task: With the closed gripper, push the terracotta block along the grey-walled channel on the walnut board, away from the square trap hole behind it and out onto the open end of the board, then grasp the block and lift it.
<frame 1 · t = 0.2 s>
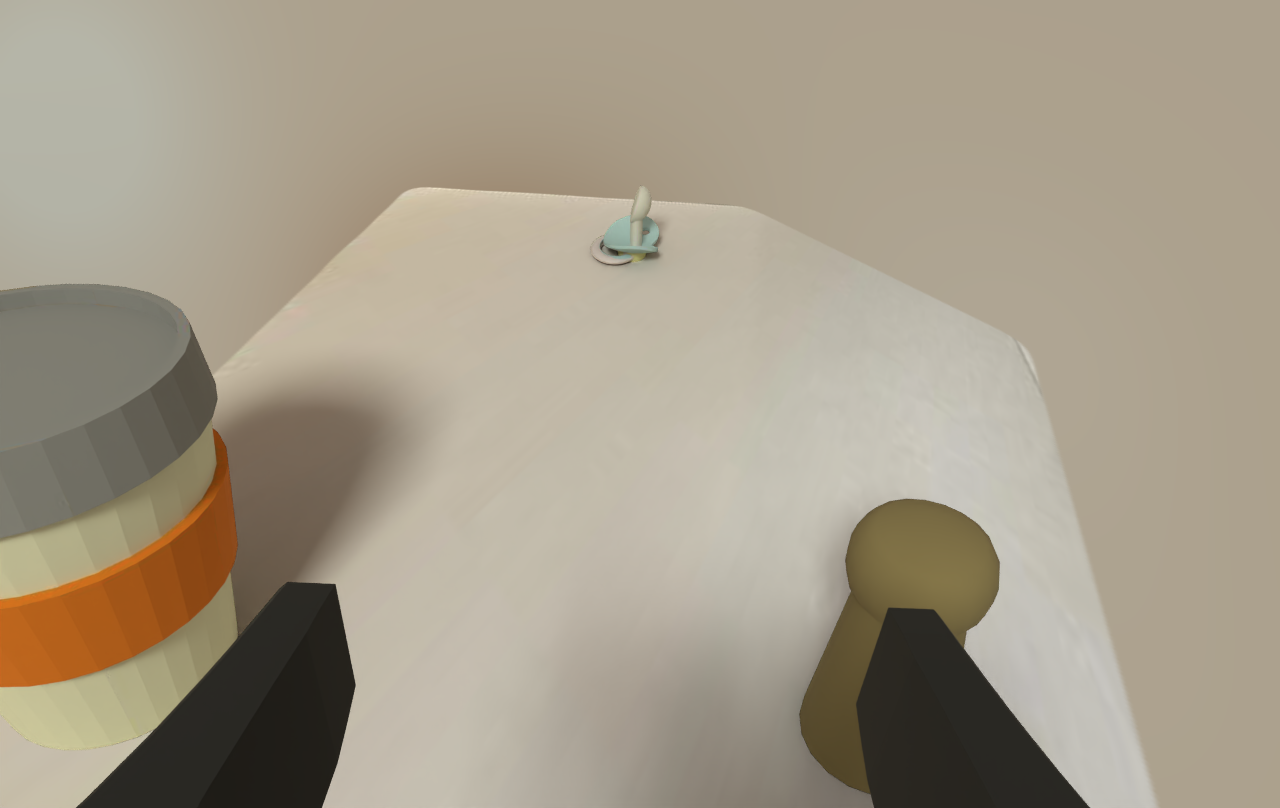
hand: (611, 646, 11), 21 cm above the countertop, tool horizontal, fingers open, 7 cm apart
pacifier: (624, 256, 76), on the countertop
reusable coffee cup: (128, 661, 37), on the countertop
cork: (871, 731, 35), on the countertop
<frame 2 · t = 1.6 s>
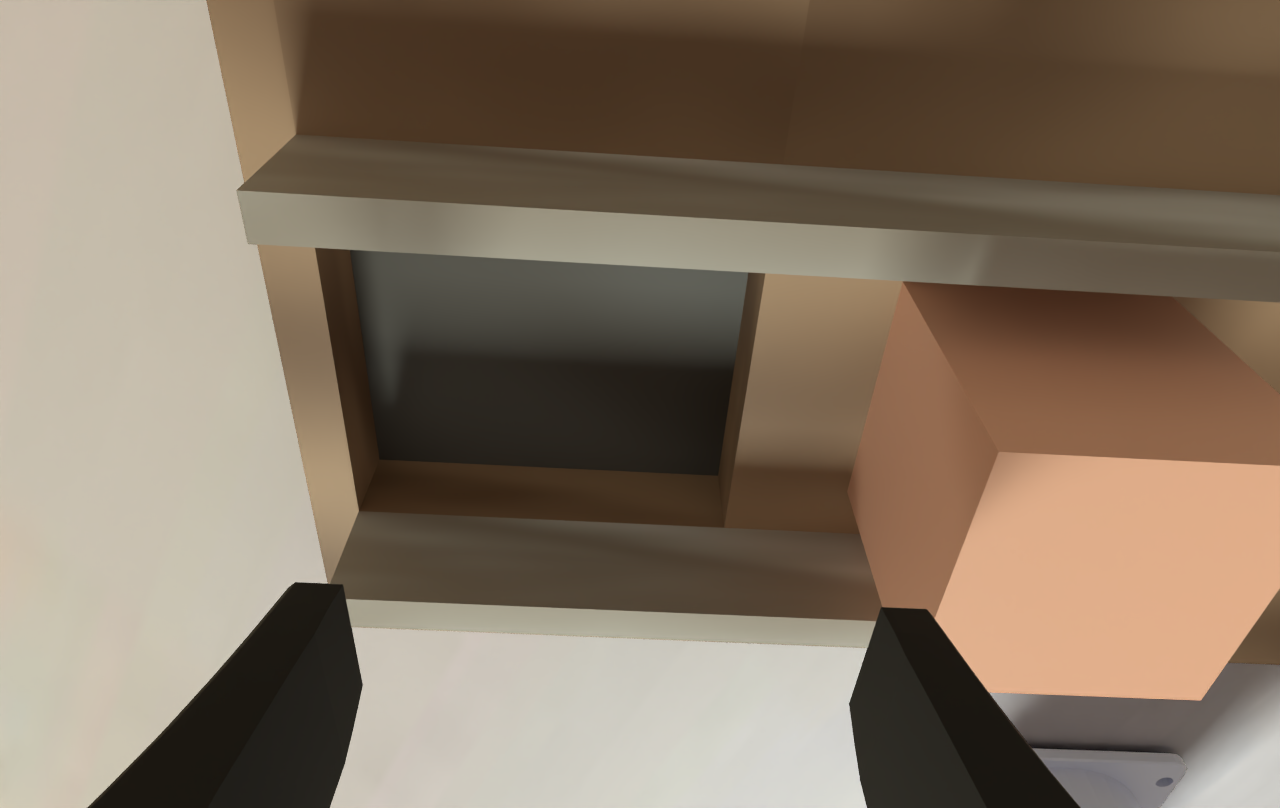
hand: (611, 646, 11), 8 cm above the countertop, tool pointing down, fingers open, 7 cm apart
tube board: (1010, 352, 19), on the countertop
block: (996, 401, 17), point 2 cm above the countertop, touching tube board
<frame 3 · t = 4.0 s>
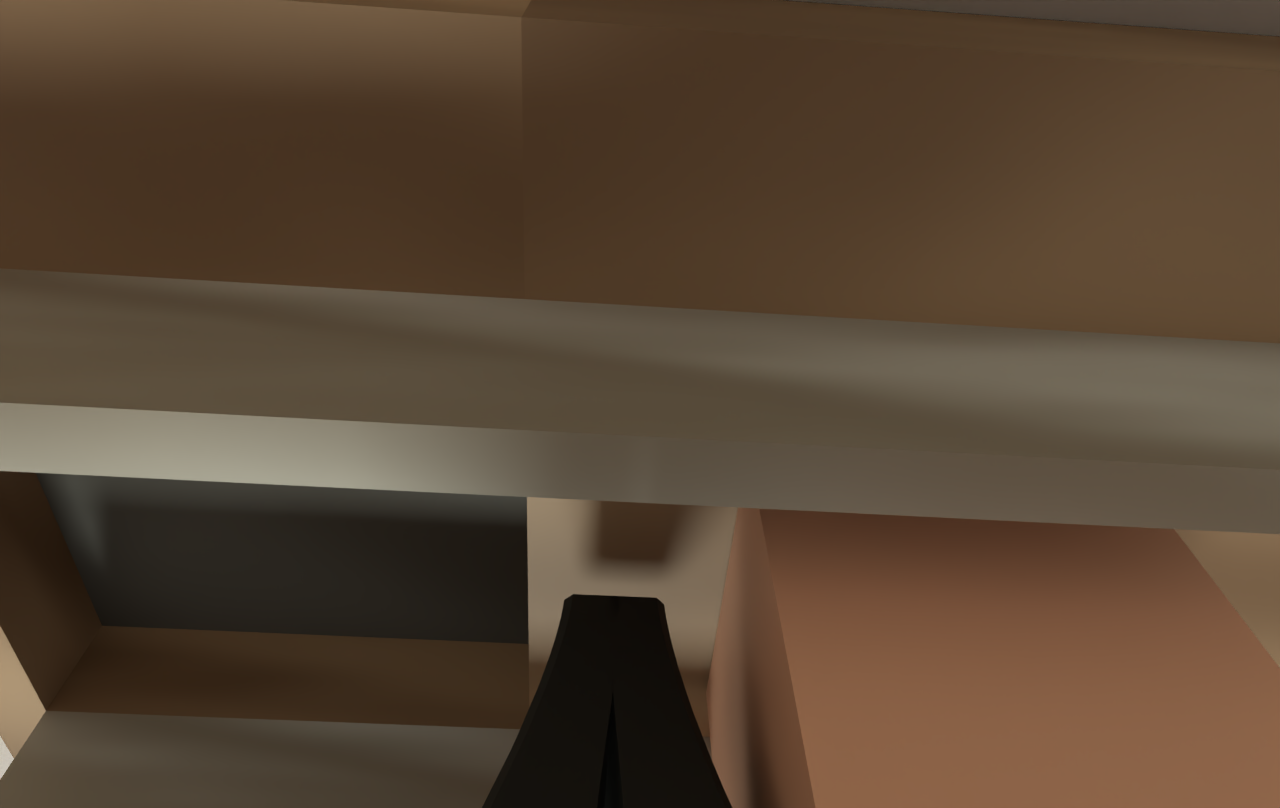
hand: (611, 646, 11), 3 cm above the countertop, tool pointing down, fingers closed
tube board: (901, 504, 14), on the countertop
block: (894, 591, 12), point 2 cm above the countertop, touching gripper, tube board
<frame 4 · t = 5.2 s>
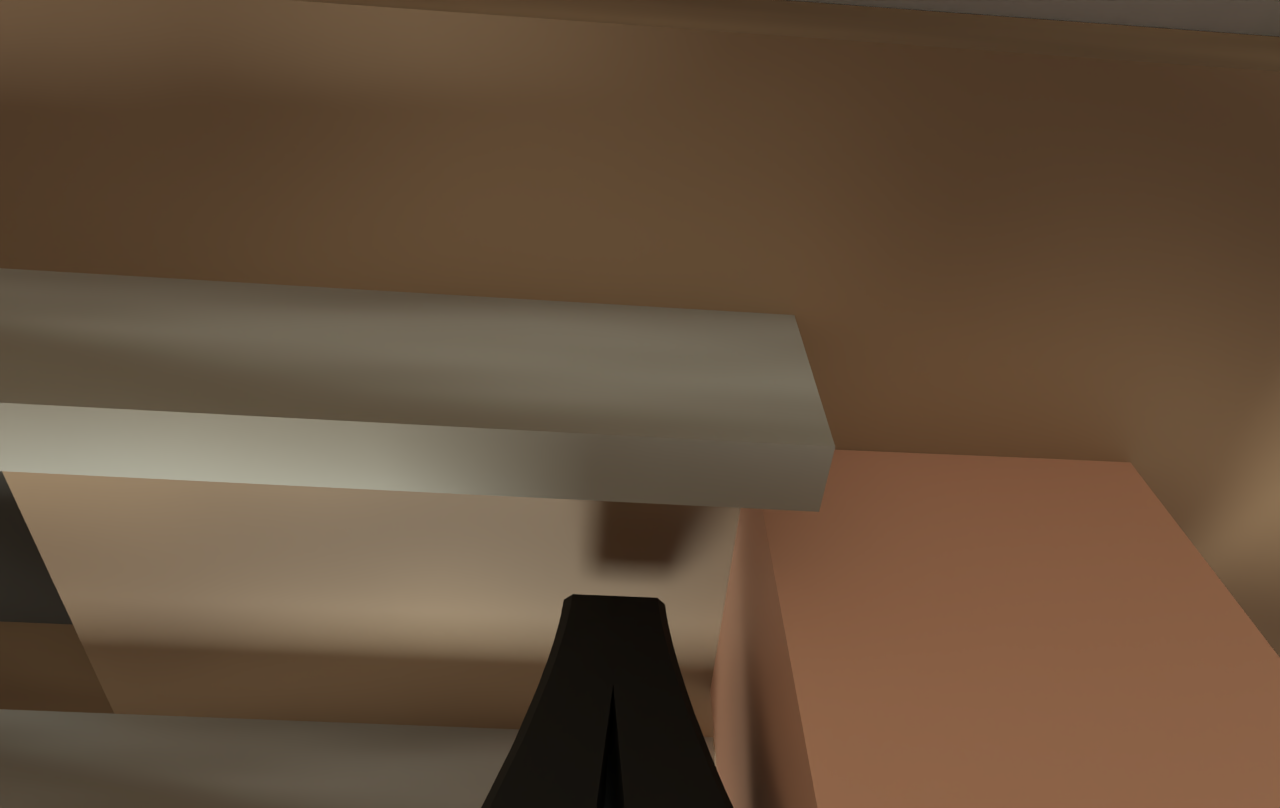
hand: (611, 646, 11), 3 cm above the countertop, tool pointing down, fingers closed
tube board: (486, 483, 14), on the countertop
block: (897, 588, 12), point 2 cm above the countertop, touching gripper, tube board
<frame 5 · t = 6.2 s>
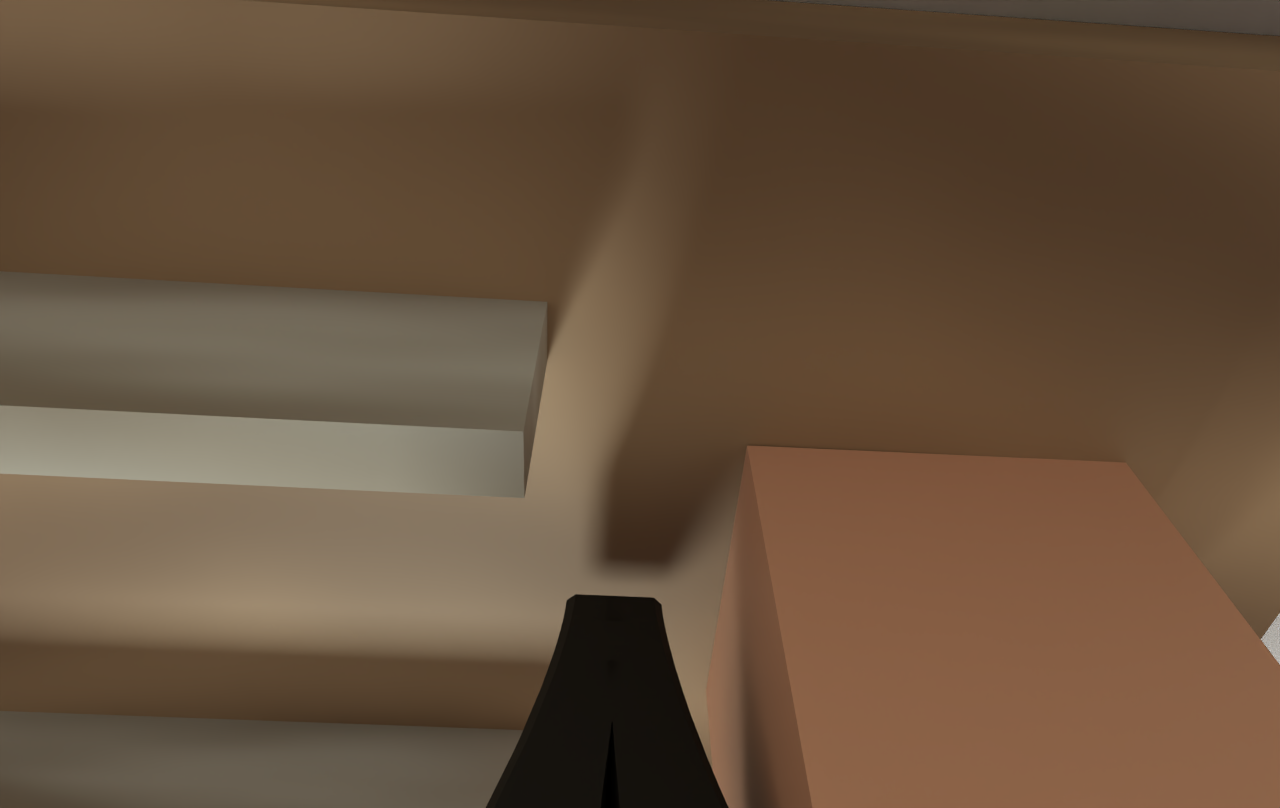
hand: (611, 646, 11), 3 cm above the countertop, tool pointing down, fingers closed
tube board: (310, 475, 14), on the countertop
block: (893, 588, 12), point 2 cm above the countertop, touching gripper, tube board
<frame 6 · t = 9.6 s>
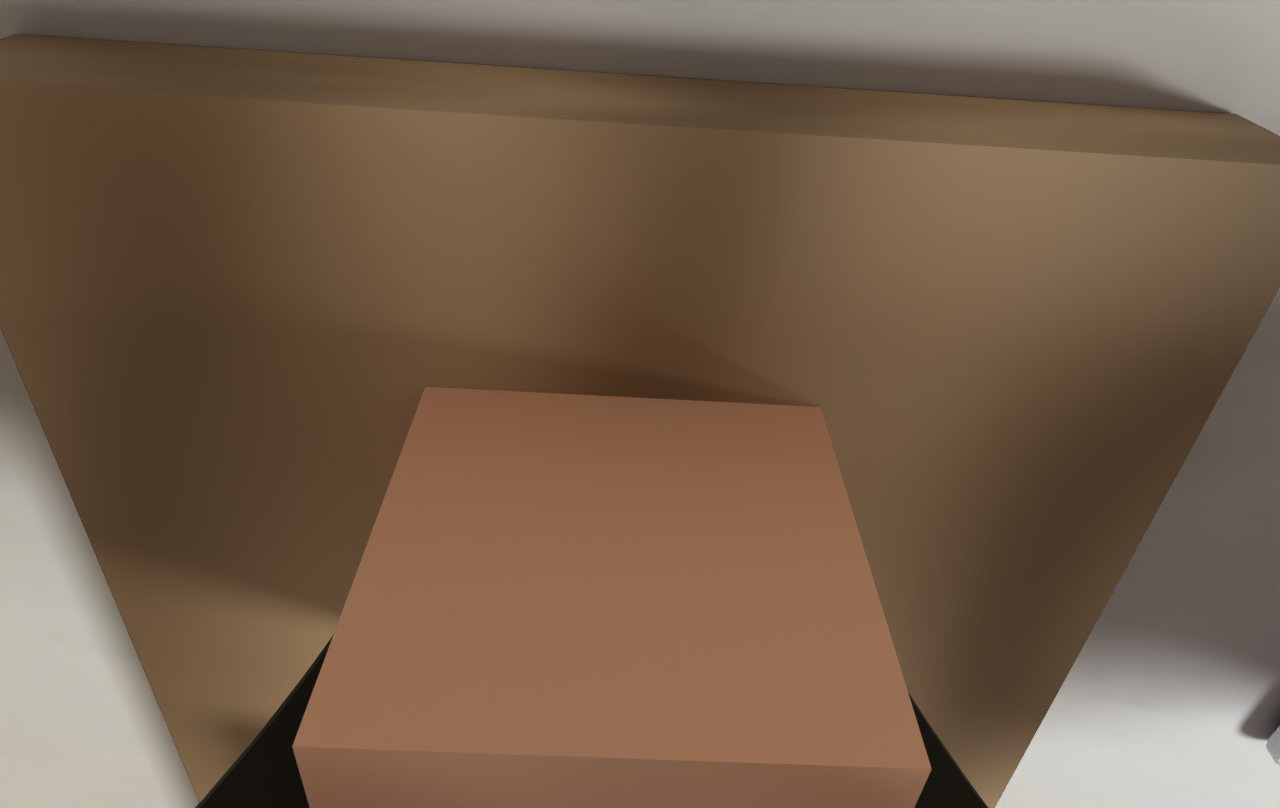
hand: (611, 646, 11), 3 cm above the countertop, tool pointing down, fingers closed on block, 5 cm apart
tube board: (598, 774, 19), on the countertop
block: (615, 540, 12), point 2 cm above the countertop, touching gripper, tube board
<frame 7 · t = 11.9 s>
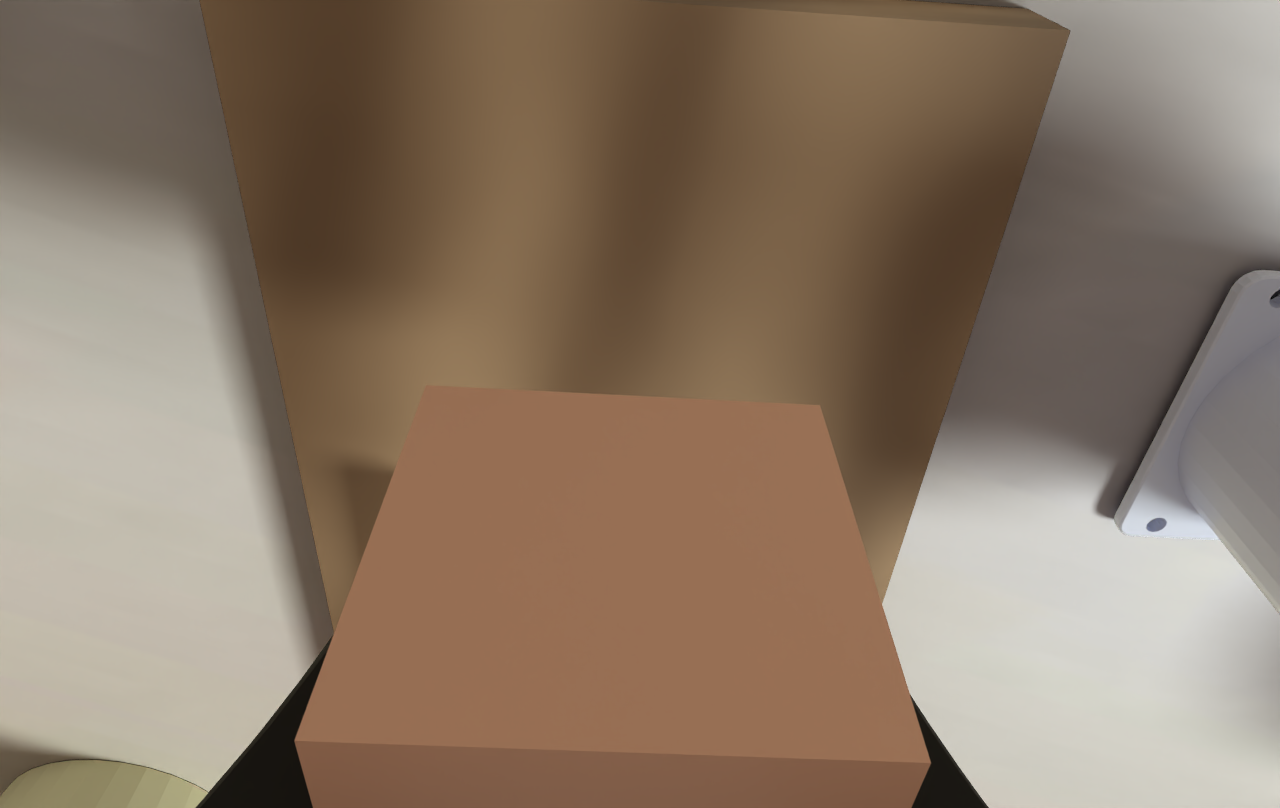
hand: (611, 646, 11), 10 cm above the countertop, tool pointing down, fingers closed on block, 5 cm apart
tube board: (607, 550, 25), on the countertop
block: (615, 539, 12), point 9 cm above the countertop, touching gripper
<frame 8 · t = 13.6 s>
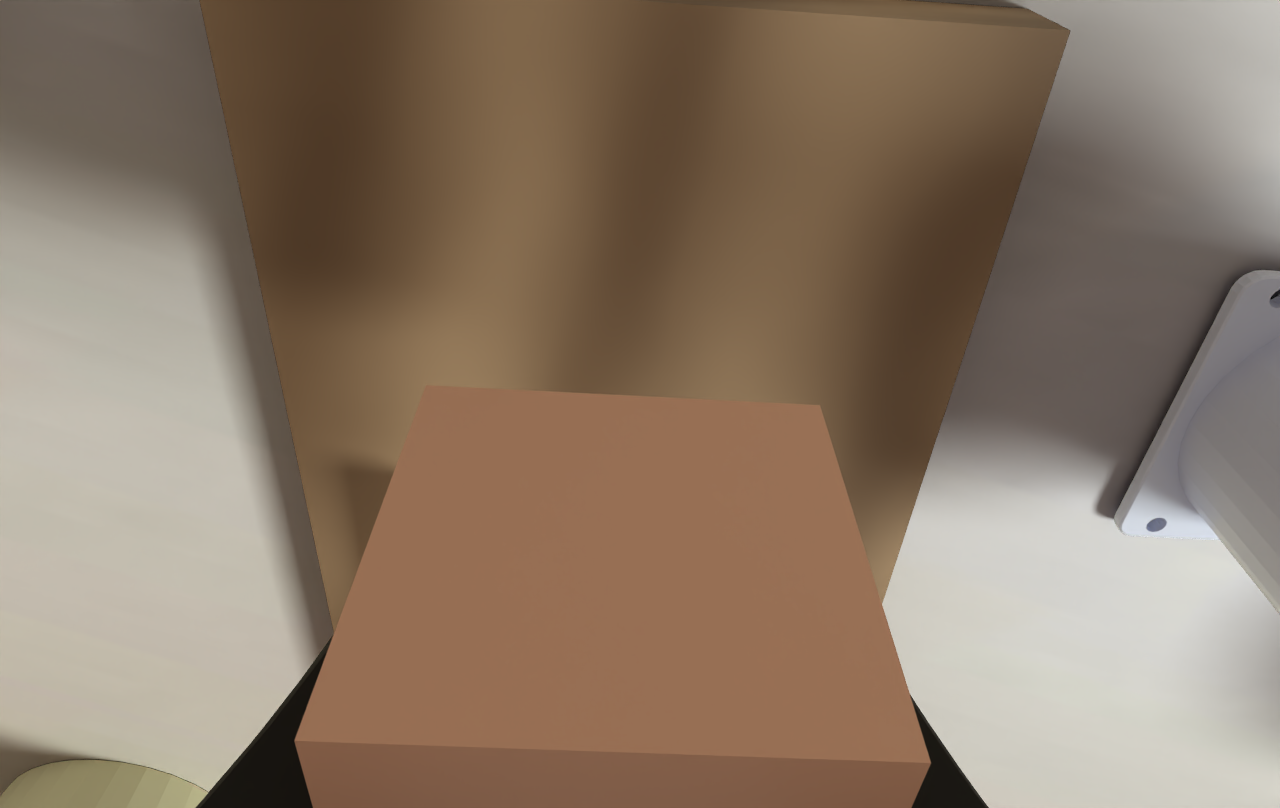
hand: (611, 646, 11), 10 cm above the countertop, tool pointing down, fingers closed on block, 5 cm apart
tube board: (607, 550, 25), on the countertop
block: (615, 539, 12), point 9 cm above the countertop, touching gripper
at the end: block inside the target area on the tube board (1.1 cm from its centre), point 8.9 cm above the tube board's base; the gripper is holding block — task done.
